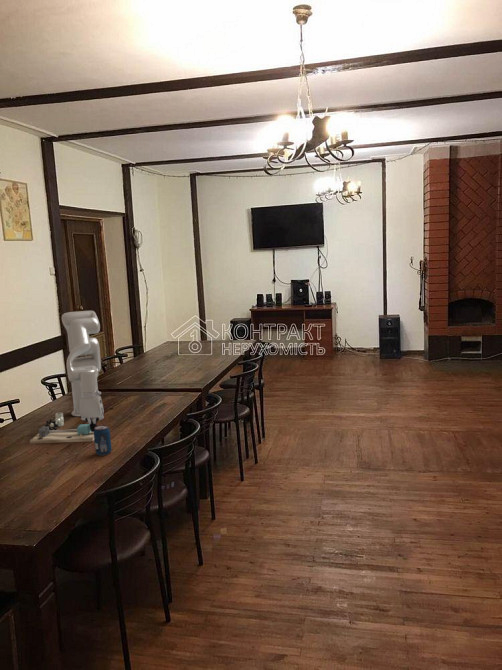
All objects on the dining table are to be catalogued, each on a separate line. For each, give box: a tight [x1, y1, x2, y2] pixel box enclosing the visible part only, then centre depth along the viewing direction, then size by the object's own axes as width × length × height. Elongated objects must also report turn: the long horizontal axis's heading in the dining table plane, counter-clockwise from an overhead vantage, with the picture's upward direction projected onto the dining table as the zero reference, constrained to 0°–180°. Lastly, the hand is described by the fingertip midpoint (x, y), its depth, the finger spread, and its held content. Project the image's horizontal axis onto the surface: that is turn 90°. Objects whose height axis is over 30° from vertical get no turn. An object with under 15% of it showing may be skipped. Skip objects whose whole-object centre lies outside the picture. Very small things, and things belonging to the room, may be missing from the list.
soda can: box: [93, 424, 112, 456], centre depth 237 cm, size 7×7×12 cm
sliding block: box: [76, 423, 91, 436], centre depth 259 cm, size 8×5×4 cm, turn 179°
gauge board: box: [29, 425, 94, 445], centre depth 260 cm, size 12×30×5 cm, turn 89°
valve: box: [44, 412, 65, 430], centre depth 276 cm, size 7×7×12 cm
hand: (93, 430), depth 261 cm, fingers closed
